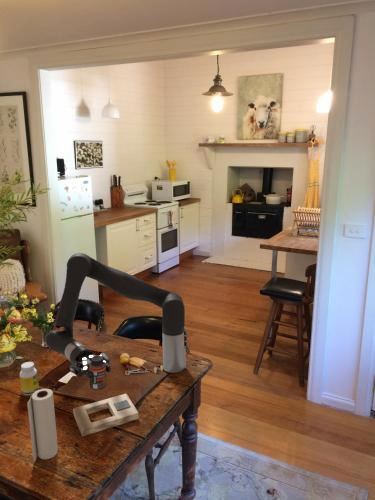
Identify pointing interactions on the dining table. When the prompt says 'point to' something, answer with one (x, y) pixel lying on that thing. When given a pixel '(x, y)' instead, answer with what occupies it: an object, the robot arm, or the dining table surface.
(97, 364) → the supplement bottle
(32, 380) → the pill bottle
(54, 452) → the paper towel roll
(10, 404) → the dining table surface
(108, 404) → the board
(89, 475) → the dining table surface
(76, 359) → the robot arm
